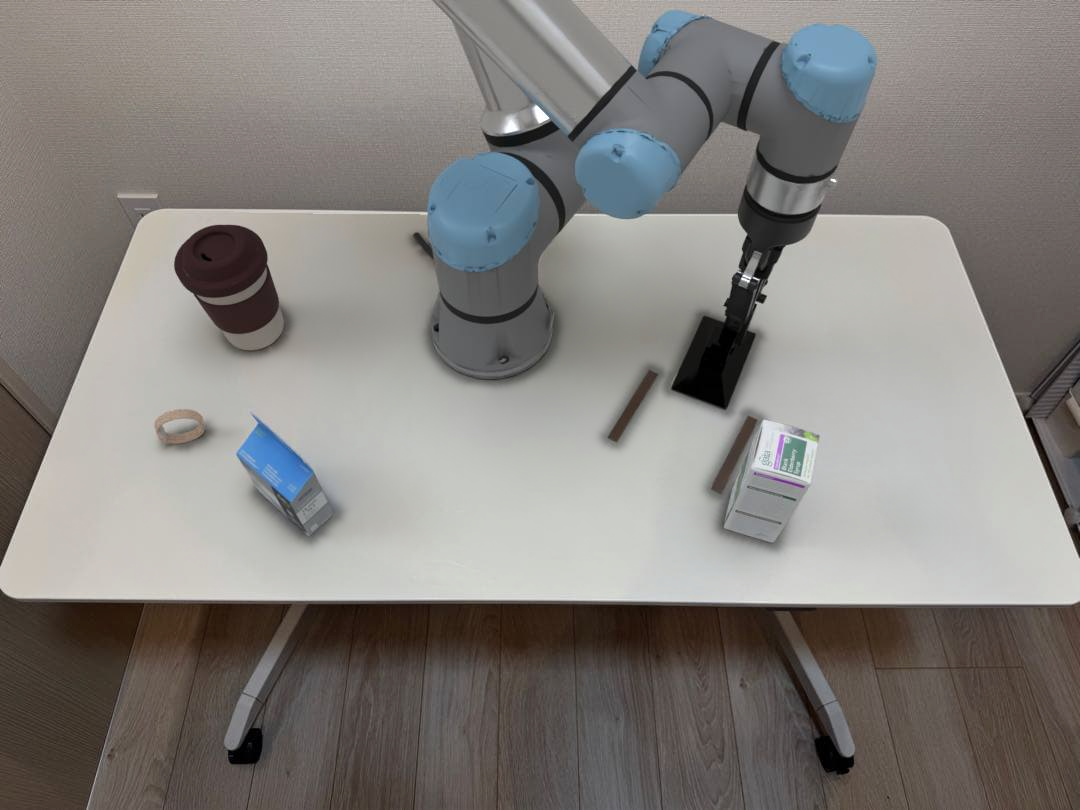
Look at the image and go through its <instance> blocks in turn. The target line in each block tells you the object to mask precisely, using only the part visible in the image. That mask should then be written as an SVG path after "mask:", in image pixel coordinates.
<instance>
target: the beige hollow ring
mask: <svg viewBox="0 0 1080 810" xmlns="http://www.w3.org/2000/svg"><path fill="white" fill-rule="evenodd" d="M180 419H185V420H187V419H188V420H193V421H196V422H198V423H199V425H198V426H197V427H196V428H194V429H193V430H190V431H187V432H184V433H175V434H174V433H169V432H167V431H165V427H164V426H163V425H164V424H166V423H168V422H172V421H175V420H180ZM154 429H155V433H156V437H157V438H158V439H159V441H160V442H161V443H162V444H165V443H166V444H174V445H175V444H185V443H189V442H191V441H194V440H196V439H199V438H200V437H201V436H202V435H203V434H204V432H205V423H204V418H203V416H202V414H201V413H199V412H198V411H196V410H193V409H189V408H178V409H177V408H176V409H172V410H168V411H166V412H164V413H162V414H160V415H159V416H158V417H157V418H156V419H155V420H154Z"/></svg>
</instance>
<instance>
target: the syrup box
mask: <svg viewBox="0 0 1080 810" xmlns="http://www.w3.org/2000/svg"><path fill="white" fill-rule="evenodd" d="M820 438H821V435H820V434H818V433H815V432H812V431H808V430H804V429H802V428H799V427H796V426H792V425H788V424H785V423H780V422H776V421H772V420H767V419H763V420H762V421H761V424H760V426H759V428H758V429H757V432H756V433H755V436H754V438H753V440H752V443H751V445H750V447H749V449H748V451H747V454H746V456H745V458H744V461H743V462H742V465H741V467H740V469H739V471H738V473H737V476H736V478H735V480H734V482H733V484H732V486H731V487H732V488H731V491H730V496H729V500H728V505H727V510H726V513H725V519H724V521H723V526H722V527H723V529H726V530H728V531H732V532H734V533H737V534H741V535H745V536H747V537H751V538H753V539H757V540H761V541H764V542H768V543H771V544H773V543H775V542H776V540H777V538H778V537H779V536H780V534H781V533H782V531H783V529H784V528H785V526H786V525H787V524H788V522H789V520H790V519H791V517H792V515H793V514H794V512H795V511H796V510H797V507H798V506H799V504H800V503H801V502H802V500H803V498H804V496H805V495H806V494H807V492H808V490H809V489H810V487H811V486H812V482H813V476H814V470H815V465H816V461H817V460H816V459H817V454H818V448H819V442H820Z"/></svg>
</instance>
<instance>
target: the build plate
mask: <svg viewBox="0 0 1080 810" xmlns="http://www.w3.org/2000/svg"><path fill="white" fill-rule="evenodd" d="M724 323H725V321H721V320H719V319H716V318H713V317H710V316H707V315H703V316H702V318H701V320H700V322H699V324H698V326H697V329H696V331H695V334H694V336H693V338H692V340H691V342H690V344H689V347H688V349H687V351H686V354H685V356H684V358H683V361H682V363H681V365H680V367H679V368H678V371H677V373H675V374H674V375H673V377H672V380H671V381H670V389H671V391H673V392H675V393H678V394H681V395H684V396H686V397H689V398H691V399H694V400H697V401H700V402H701V403H705V404H707V405H711V406H713V407H715V408H718V409H721V410H724V411H727V410H728V407H729V404H730V402H731V399H732V397H733V394H734V391H735V389H736V387H737V385H738V382H739V380H740V377H741V374H742V371H743V369H744V366H745V364H746V362H747V359H748V357H749V354H750V351H751V350H752V349H751V348H752V346H753V344H754V341H755V338H756V336H757V334H756V333H755V332H753V331H750V330H747V333H746V335H745V338H744V340H743V342H742V344H741V345H740V346H739V345H737V344H734V342H735V339H736V337H737V334H738V333H736V332H733V331H731V330H728V329H725V328H723V326H724Z"/></svg>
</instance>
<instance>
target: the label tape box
mask: <svg viewBox="0 0 1080 810" xmlns="http://www.w3.org/2000/svg"><path fill="white" fill-rule="evenodd" d="M250 415H251V416H252V417H253V418H254V420H255V421H256V422H257V424H256V425H255V427H254V428H253V430H252V431H251V433H250V434H249V435H248V436H247V438H246V439H245V441H244V442H243V443H242V445H241V446H240V447H239V448H238V450H237V451H236V452H235V453H236V454H235V455H236V457H237V459H238V460H239V462H240V463H241V465H242V467H243V468H244V470H245V471H246V473H247V474H248V476H249V478H250V480H251V481H252V483H253V484H254V486H255V488H256V490H257V492H258V493H259V494H261V495H262V496H263V498H265V499H266V500H267V501H268V502H269V503H271V504H272V506H274V507H275V508H276V509H277V510H278V511H280V512H281V514H283V515H284V516H285V517H286V518H287V519H288V520H289V521H291V522H292V523H293V524H294V525H295V526H297V528H298V529H300V530H301V531H302V532H303V533H304V534H305V535H307V536H308V537H310V536H312V535H313V534H314V533H315V532H317V530H319V528H321V527H322V526H323V525H324V524H325V523H326V522H327V521H328V520H329V519H330V518H331V517H332V516H334V513H335V512H334V511H333V509H332V507H331V504H330V502H329V501H328V498H327V496H326V494H325V492H324V490H323V488H322V486H321V484H320V482H319V479H318V478H317V476H316V473H315V472H314V470H313V468H312V467H311V465H310V464H309V462H307V461H306V460H305V458H303V457H302V455H301V454H299V452H298V451H296V449H294V448H293V447H292V445H290V444H289V443H288V442H286V440H284V439H283V438H282V437H281V436H280V435H279V434H277V432H275V431H274V430H273V429H272V428H271V427H270V426H268V425H267V423H265V422H264V421H263V420H261V419H260V418H259V417H258V416H257V415H256V414H255V413H253V412H252V411H250Z"/></svg>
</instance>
